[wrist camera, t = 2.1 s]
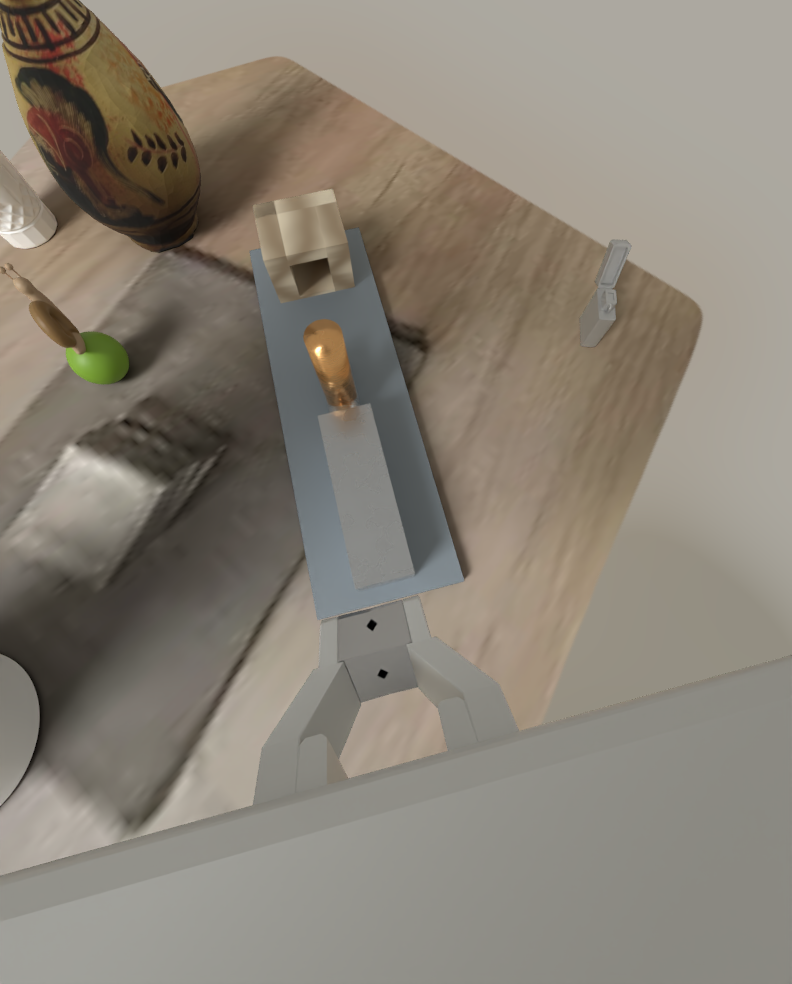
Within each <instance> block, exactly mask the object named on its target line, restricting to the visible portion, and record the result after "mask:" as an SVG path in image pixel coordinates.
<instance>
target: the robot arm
mask: <svg viewBox="0 0 792 984" xmlns="http://www.w3.org/2000/svg"><path fill="white" fill-rule="evenodd" d="M417 687H419V689H420V690H421V691H422V692H423V693H424V695H425V696H426V697H427V698H428V699H429V700H430V701H431V702H432V703H433V704H434V705H435V706H436V707H437V708H438V711H439V715H440V720H441V724H442V728H443V732H444V736H445V741H446V745H447V749H448V751H446V752H442V753H438V754H435V755H431V756H428V757H424V758H421V759H417V760H413V761H410V762H406V763H403V764H399V765H396V766H392V767H388V768H385V769H381V770H378V771H374V772H370V773H367V774H363V775H360V776H356V777H353V778H349V779H348V777H347V775H346V773H345V771H344V769H343V767H342V765H341V763H340V761H339V757H340V755H341V753H342V750H343V748H344V745H345V743H346V740H347V738H348V736H349V733H350V731H351V728H352V726H353V723H354V721H355V718H356V716H357V714H358V711H359V709H360V706H361V703H362V702H365V701H368V700H371V699H375V698H378V697H381V696H385V695H388V694H392V693H396V692H400V691H404V690H408V689H412V688H417ZM39 719H40V714H39V703H38V697H37V693H36V690H35V687H34V685H33V683H32V681H31V679H30V677H29V676H28V674H27V673H26V672H25V670H24V669H23V668H22V667H21V666H20V665H19V664H17V663H16V662H15V661H13V660H12V659H10V658H8V657H6V656H4V655H2V654H0V806H1V805H2V804H3V803H4V801H5V800H6V799H7V798H8V797H9V796H10V794H11V793H12V792H13V790H14V789H15V788H16V786H17V785H18V783H19V782H20V780H21V778H22V776H23V775H24V773H25V771H26V769H27V767H28V765H29V762H30V760H31V758H32V755H33V752H34V749H35V745H36V741H37V737H38V731H39ZM0 984H792V655H789V656H786V657H782V658H779V659H775V660H772V661H768V662H764V663H761V664H757V665H754V666H750V667H746V668H743V669H739V670H736V671H732V672H728V673H725V674H721V675H718V676H714V677H711V678H707V679H704V680H700V681H696V682H693V683H689V684H685V685H682V686H678V687H675V688H672V689H668V690H664V691H660V692H657V693H653V694H650V695H646V696H642V697H639V698H635V699H632V700H628V701H625V702H621V703H618V704H614V705H610V706H607V707H603V708H599V709H596V710H592V711H589V712H585V713H582V714H578V715H574V716H571V717H567V718H564V719H560V720H556V721H553V722H549V723H546V724H542V725H539V726H535V727H531V728H528V729H524V730H521V731H519V729H518V727H517V725H516V722H515V720H514V718H513V715H512V713H511V711H510V708H509V706H508V704H507V701H506V699H505V697H504V694H503V692H502V690H501V687H500V685H499V684H498V683H497V682H496V681H494V680H493V679H492V678H490V677H489V676H488V675H486V674H485V673H484V672H482V671H481V670H480V669H478V668H477V667H476V666H474V665H473V664H472V663H471V662H469V661H468V660H467V659H465V658H464V657H463V656H461V655H460V654H459V653H457V652H456V651H455V650H453V649H452V648H451V647H449V646H448V645H447V644H445V643H444V642H443V641H441V640H440V639H439V638H437V637H433V638H431V635H430V631H429V628H428V625H427V621H426V618H425V614H424V611H423V607H422V604H421V600H420V597H419V596H418V595H417V596H414V597H410V598H407V599H403V602H402V600H400V601H396V602H392V603H389V604H385V605H381V606H378V607H374V608H371V609H367V610H363V611H359V612H354V613H350V614H346V615H342V616H338V617H335V618H331V619H326V620H322V622H321V624H320V643H319V668H317V669H314V670H313V671H312V673H311V674H310V676H309V677H308V679H307V680H306V682H305V683H304V685H303V686H302V688H301V689H300V691H299V692H298V694H297V695H296V697H295V699H294V700H293V702H292V703H291V705H290V706H289V708H288V709H287V711H286V712H285V714H284V715H283V717H282V718H281V720H280V721H279V723H278V724H277V726H276V727H275V729H274V731H273V732H272V734H271V735H270V737H269V738H268V740H267V741H266V743H265V744H264V746H263V747H262V751H261V757H260V764H259V770H258V776H257V782H256V789H255V795H254V801H253V805H252V806H249V807H245V808H241V809H238V810H234V811H231V812H227V813H224V814H220V815H216V816H213V817H209V818H206V819H202V820H198V821H195V822H191V823H188V824H184V825H181V826H177V827H173V828H170V829H166V830H163V831H159V832H155V833H152V834H148V835H145V836H141V837H137V838H134V839H130V840H127V841H123V842H120V843H116V844H112V845H109V846H105V847H102V848H98V849H94V850H91V851H87V852H84V853H80V854H76V855H73V856H69V857H66V858H62V859H58V860H55V861H51V862H48V863H44V864H40V865H37V866H33V867H30V868H26V869H23V870H19V871H15V872H12V873H8V874H5V875H1V876H0Z"/></svg>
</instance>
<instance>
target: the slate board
mask: <svg viewBox="0 0 792 984" xmlns="http://www.w3.org/2000/svg"><path fill="white" fill-rule="evenodd" d="M345 234H346V238H347V241H348V246H349V252H350V259H351V265H352V272H353V278H354V284H355V287H353V288H348V289H344V290H339V291H335V292H330V293H326V294H321V295H317V296H312V297H308V298H303V299H299V300H294V301H290V302H285V303H280V300H279V298H278V295H277V293H276V290H275V288H274V286H273V283H272V281H271V278H270V276H269V274H268V271H267V269H266V266H265V264H264V261H263V257H262V252H261V248H260V249H255V250H251V251H250V256H251V262H252V267H253V273H254V278H255V283H256V289H257V294H258V300H259V305H260V311H261V316H262V321H263V327H264V332H265V338H266V343H267V349H268V354H269V359H270V365H271V370H272V376H273V381H274V386H275V392H276V397H277V403H278V408H279V414H280V419H281V424H282V430H283V435H284V441H285V446H286V451H287V457H288V462H289V468H290V473H291V479H292V484H293V489H294V495H295V500H296V506H297V511H298V516H299V522H300V527H301V533H302V538H303V544H304V549H305V554H306V560H307V565H308V571H309V576H310V581H311V587H312V592H313V598H314V603H315V609H316V614H317V619H318V620H320V619H324V618H327V617H331V616H335V615H339V614H342V613H346V612H350V611H354V610H358V609H361V608H365V607H369V606H373V605H376V604H380V603H384V602H388V601H392V600H395V599H399V598H403V597H407V596H410V595H414V594H418V593H422V592H426V591H429V590H433V589H437V588H441V587H444V586H448V585H452V584H456V583H460V582H463V581H464V578H463V575H462V571H461V568H460V565H459V561H458V558H457V555H456V551H455V548H454V545H453V541H452V538H451V535H450V531H449V528H448V524H447V521H446V518H445V514H444V511H443V508H442V504H441V501H440V498H439V494H438V491H437V488H436V484H435V481H434V478H433V474H432V471H431V468H430V464H429V461H428V458H427V454H426V451H425V447H424V444H423V441H422V437H421V434H420V431H419V427H418V424H417V421H416V417H415V414H414V411H413V407H412V404H411V401H410V397H409V394H408V391H407V387H406V384H405V380H404V377H403V374H402V370H401V367H400V364H399V360H398V357H397V354H396V350H395V347H394V344H393V340H392V337H391V334H390V330H389V327H388V324H387V320H386V317H385V313H384V310H383V307H382V303H381V300H380V297H379V293H378V290H377V287H376V283H375V280H374V277H373V273H372V270H371V267H370V263H369V260H368V257H367V253H366V250H365V247H364V243H363V240H362V236H361V233H360V230H359V227H358V228H354V229H349V230H345ZM321 319H328V320H332V321H334V322H336V323H337V324H338V325H339V326H340V328H341V330H342V333H343V338H344V342H345V346H346V351H347V355H348V359H349V363H350V367H351V371H352V375H353V378H354V382H355V386H356V390H357V394H358V398H359V402H360V406H361V405H365V404H369V403H370V404H371V408H372V412H373V416H374V420H375V423H376V427H377V431H378V435H379V438H380V442H381V446H382V450H383V454H384V457H385V461H386V465H387V469H388V473H389V476H390V480H391V484H392V488H393V492H394V495H395V499H396V503H397V507H398V511H399V514H400V518H401V522H402V526H403V530H404V533H405V537H406V541H407V545H408V549H409V552H410V556H411V560H412V564H413V568H414V571H415V575H414V577H413V578H409V579H405V580H402V581H398V582H394V583H390V584H386V585H383V586H379V587H375V588H371V589H367V590H364V591H360V590H356V589H355V587H354V582H353V577H352V573H351V568H350V563H349V559H348V554H347V550H346V545H345V540H344V536H343V531H342V527H341V522H340V517H339V513H338V508H337V503H336V499H335V494H334V490H333V485H332V480H331V476H330V471H329V466H328V462H327V457H326V453H325V448H324V443H323V439H322V434H321V429H320V425H319V420H318V416H319V415H323V414H327V413H329V410H328V406H327V401H326V397H325V395H324V392H323V389H322V387H321V384H320V382H319V379H318V376H317V374H316V371H315V369H314V366H313V363H312V361H311V358H310V356H309V353H308V351H307V348H306V345H305V343H304V339H303V335H304V331H305V329H306V328H307V326H308V325H309V324H311V323H312V322H314V321H316V320H321Z"/></svg>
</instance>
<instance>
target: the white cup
mask: <svg viewBox="0 0 792 984" xmlns="http://www.w3.org/2000/svg"><path fill="white" fill-rule="evenodd" d="M56 228H57V221H56V218H55V216H54V215H53V214H52V212H51V211H50V210H49V209H48V208H47V207H46V205H45V204H44V203H43V202H42V201H41V200H40V199H39V197H38V196H37V194H36V193H35V191H34V190H33V189H32V188H31V186H30V185H29V184H28V183H27V182H26V181H25V179H24V178H23V177H22V175H21V174H20V173H19V172H18V171H17V169H16V168H15V167H14V166H13V165H12V163H11V162H10V161H9V160H8V159H7V158H6V156H5V155H4V154H3V153H2V152H1V150H0V236H1V237H2V238H4V239H5V240H6V241H7V242H8V243H10V244H11V245H12V246H14V247H16V248H22V249H29V248H34V247H38V246H40V245H41V244H43V243H45V242H47V241H48V240H49V239H50V238H51V237H52V236H53V235H54V233H55V231H56Z"/></svg>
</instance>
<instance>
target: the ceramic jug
mask: <svg viewBox="0 0 792 984" xmlns="http://www.w3.org/2000/svg"><path fill="white" fill-rule="evenodd" d="M0 28H1V31H2V38H3V41H4V42H3V44H2V47H3V52H4V56H5V59H6V63H7V66H8V70H9V74H10V78H11V82H12V85H13V89H14V93H15V97H16V101H17V104H18V107H19V110H20V112H21V115H22V117H23V120H24V122H25V125H26V127H27V129H28V132H29V134H30V136H31V138H32V140H33V142H34V144H35V146H36V148H37V150H38V151H39V153H40V155H41V157H42V159H43V160H44V162H45V164H46V165H47V167H48V169H49V170H50V172H51V174H52V175H53V177H54V178H55V179H56V181H57V182H58V184H59V185H60V187H61V188H62V189H63V190H64V191H65V193H66V194H67V195H68V196H69V197H70V198H71V199H72V200H73V201H74V202H75V203H76V204H77V205H78V206H79V207H80V208H81V209H83V210H84V211H85V212H86V213H88V214H89V215H90V216H91V217H93V218H94V219H95V220H97V221H98V222H100V223H102V224H103V225H105V226H107V227H109V228H111V229H113V230H115V231H117V232H119V233H122V234H125V235H127V236H128V237H129V238H130V239H131V240H132V241H133V242H135V243H136V244H138V245H139V246H141V247H142V248H145V249H147V250H150V251H151V252H158V253H159V252H161V251H164V250H167V249H170V248H173V247H178V246H180V245H182V244H184V243H185V242H187V241H188V240H190V239H191V238H193V233H194V230H195V229H196V227H197V224H198V216H197V213H196V207H197V203H198V199H199V194H200V186H201V173H200V168H199V163H198V159H197V155H196V151H195V149H194V146H193V143H192V141H191V139H190V136H189V134H188V132H187V129H186V128H185V126H184V124H183V121H182V119H181V118H180V116H179V115H178V114H177V112H176V110H175V109H174V107H173V105H172V104H171V102H170V100H169V99H168V98H167V96H166V95H165V93H164V92H163V90H162V89H161V87H160V86H159V85H158V83H157V82H156V81H155V79H154V78H153V77H152V75H151V74H150V73H149V72H148V70H147V69H146V68H145V66H144V65H143V64H142V62H141V61H140V60H138V58H137V57H136V56H135V55H134V54H133V53H132V52H131V51H130V50H129V49H128V48H127V47H126V46H125V45H124V44H123V43H122V42H121V41H120V40H119V39H118V38H117V37H116V36H115V35H114V34H113V33H112V32H111V31H110V30H109V29H108V28H107V27H106V26H105V25H104V24H103V23H102V22H101V21H100V20H99V19H98V18H97V17H96V16H95V15H94V13H93V12H92V11H90V10H89V9H88V8H86V7H85V6H84V5H83V4H82V3H81V2H80V1H79V0H0Z"/></svg>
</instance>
